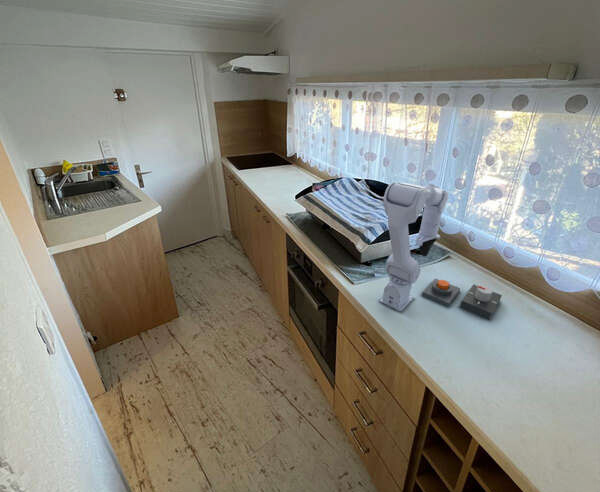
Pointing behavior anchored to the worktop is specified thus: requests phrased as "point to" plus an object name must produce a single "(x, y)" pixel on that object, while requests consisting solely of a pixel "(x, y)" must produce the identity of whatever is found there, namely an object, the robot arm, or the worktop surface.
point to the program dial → (483, 293)
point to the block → (441, 293)
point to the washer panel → (480, 303)
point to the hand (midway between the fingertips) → (423, 254)
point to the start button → (443, 284)
